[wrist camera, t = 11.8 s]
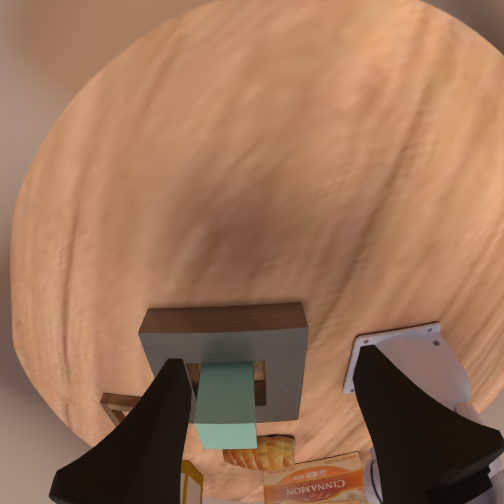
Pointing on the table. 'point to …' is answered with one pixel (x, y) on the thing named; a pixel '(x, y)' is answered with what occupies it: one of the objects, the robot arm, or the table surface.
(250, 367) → the teal peg
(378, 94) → the table surface
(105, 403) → the stand frame
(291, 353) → the socket block
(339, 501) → the coffeecake box
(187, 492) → the soap bottle
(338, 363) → the table surface
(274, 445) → the pastry
